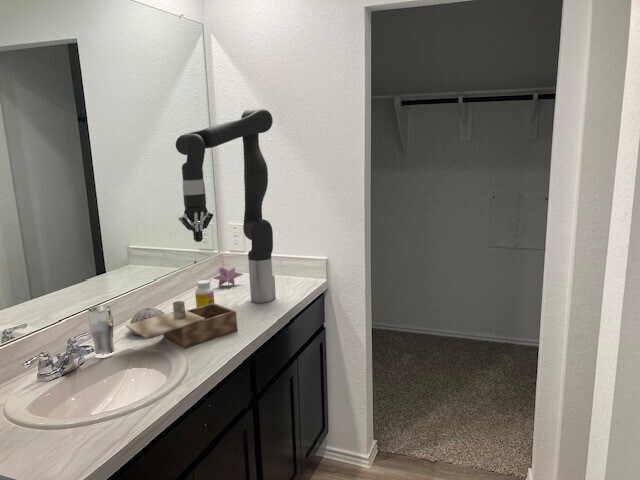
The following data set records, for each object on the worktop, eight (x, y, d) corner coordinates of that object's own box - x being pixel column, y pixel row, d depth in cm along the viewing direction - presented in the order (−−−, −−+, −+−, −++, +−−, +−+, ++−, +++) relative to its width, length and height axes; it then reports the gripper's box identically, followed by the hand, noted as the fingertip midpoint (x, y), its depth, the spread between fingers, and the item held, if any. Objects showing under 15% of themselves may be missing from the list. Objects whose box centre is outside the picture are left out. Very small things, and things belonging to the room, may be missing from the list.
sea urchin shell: (153, 340, 168) (150, 317, 167) (120, 336, 173) (117, 313, 172) (177, 325, 180) (175, 304, 179) (146, 322, 185) (144, 301, 184)
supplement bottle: (211, 318, 187) (208, 284, 185) (194, 317, 188) (191, 284, 186) (218, 312, 194) (215, 279, 191) (201, 311, 195) (199, 279, 192)
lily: (247, 287, 229) (242, 267, 231) (237, 284, 218) (232, 263, 220) (223, 295, 231) (219, 275, 234) (212, 292, 220) (207, 271, 222)
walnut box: (214, 321, 183) (213, 302, 182) (237, 330, 173) (236, 311, 172) (163, 337, 170) (161, 317, 168) (184, 348, 160) (182, 327, 158)
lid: (183, 310, 174) (181, 295, 173) (205, 319, 164) (203, 303, 163) (125, 326, 160) (123, 310, 159) (146, 338, 150) (144, 320, 149)
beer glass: (93, 361, 153) (87, 313, 150) (92, 353, 159) (86, 307, 156) (118, 356, 156) (112, 309, 153) (115, 348, 162) (110, 303, 159)
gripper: (205, 190, 184) (208, 237, 188) (171, 194, 175) (176, 243, 179) (216, 191, 179) (220, 239, 182) (182, 195, 170) (187, 246, 173)
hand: (198, 241), depth 180 cm, fingers closed
